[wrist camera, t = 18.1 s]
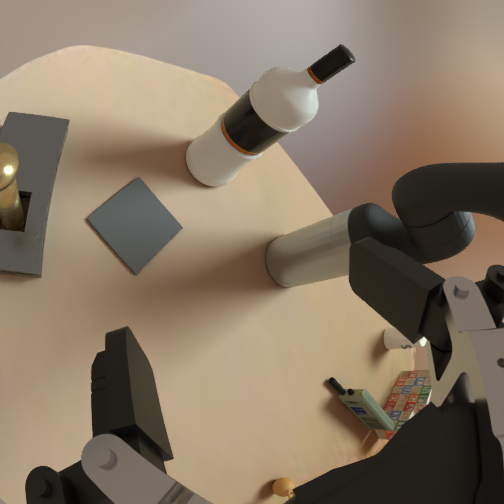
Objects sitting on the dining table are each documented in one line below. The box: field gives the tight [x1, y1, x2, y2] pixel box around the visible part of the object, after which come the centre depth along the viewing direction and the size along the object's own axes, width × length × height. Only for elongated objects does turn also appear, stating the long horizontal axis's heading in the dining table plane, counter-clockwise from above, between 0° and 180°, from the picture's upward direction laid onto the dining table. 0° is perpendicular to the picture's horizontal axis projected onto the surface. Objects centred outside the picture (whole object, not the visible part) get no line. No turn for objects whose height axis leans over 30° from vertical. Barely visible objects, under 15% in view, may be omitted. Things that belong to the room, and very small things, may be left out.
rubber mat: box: [87, 177, 183, 275], centre depth 38 cm, size 10×10×1 cm
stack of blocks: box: [375, 370, 431, 440], centre depth 62 cm, size 21×6×12 cm, turn 127°
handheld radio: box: [329, 377, 394, 431], centre depth 54 cm, size 7×3×25 cm
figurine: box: [272, 478, 295, 499], centre depth 35 cm, size 8×6×12 cm
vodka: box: [186, 44, 355, 187], centre depth 36 cm, size 9×9×30 cm
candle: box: [384, 326, 426, 349], centre depth 65 cm, size 6×6×15 cm
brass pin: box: [0, 143, 24, 231], centre depth 22 cm, size 4×4×14 cm
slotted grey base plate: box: [0, 112, 70, 277], centre depth 27 cm, size 21×10×3 cm, turn 4°
